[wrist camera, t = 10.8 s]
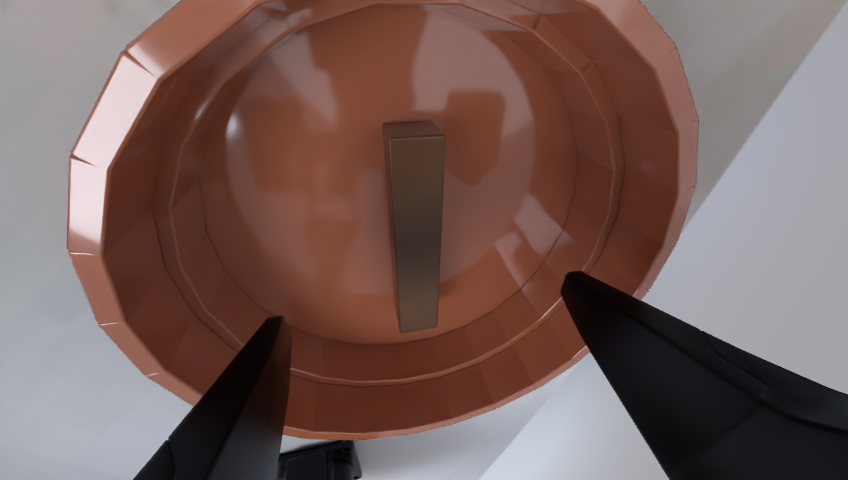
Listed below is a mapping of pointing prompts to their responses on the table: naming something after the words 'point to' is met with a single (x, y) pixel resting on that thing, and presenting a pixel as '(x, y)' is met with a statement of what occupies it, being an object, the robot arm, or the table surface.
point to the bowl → (377, 194)
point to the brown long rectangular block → (415, 218)
